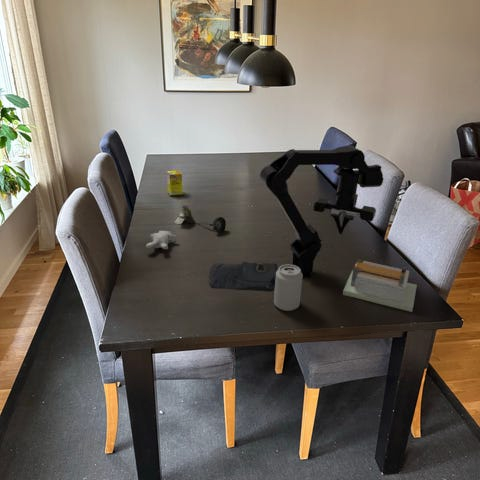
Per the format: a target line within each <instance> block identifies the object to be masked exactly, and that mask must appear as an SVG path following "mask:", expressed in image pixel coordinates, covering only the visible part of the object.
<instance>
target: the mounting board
mask: <svg viewBox="0 0 480 480" xmlns="http://www.w3.org/2000/svg"><path fill="white" fill-rule="evenodd" d="M352 274H353V269H352V270H351V272H350V275H349V277H348V279H347V281H346V283H345V286H344V288H343V289H342V295H343V296H347V297H351V298H355V299H359V300H363V301H368V302H369V303H371V302H372V303H374V304H379V305H382V306H386V307H391V308H394V309H399V310H403V311H407V312H410V313H413V310H414V304H415V297H416V291H417V286H418V285H417V284H414V283H410V282H407V285H406V290H405V294H404V299H403V302H401V303H398V302H394V301H390V300H386V299H382V298H378V297H374V296H370V295H366V294H362V293H358V292H356V291H354V289H355V287H354V286H351V280H352ZM355 284H356V283H355Z"/></svg>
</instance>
